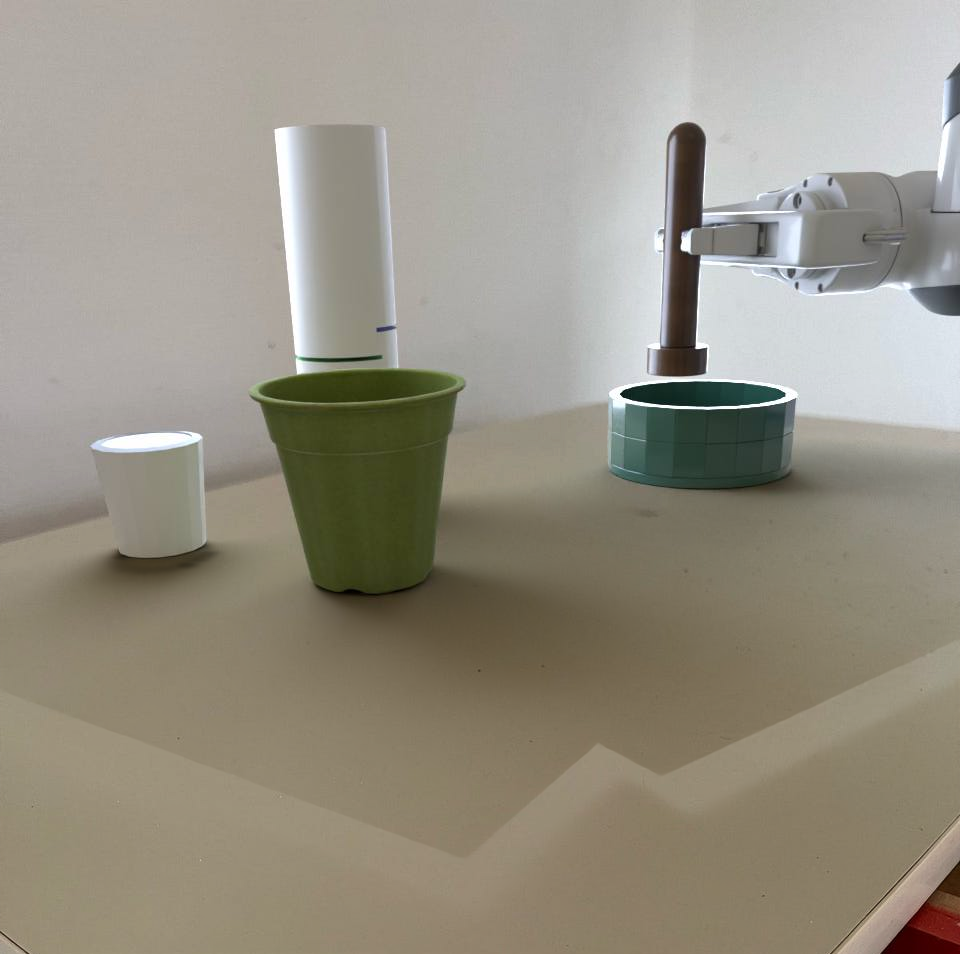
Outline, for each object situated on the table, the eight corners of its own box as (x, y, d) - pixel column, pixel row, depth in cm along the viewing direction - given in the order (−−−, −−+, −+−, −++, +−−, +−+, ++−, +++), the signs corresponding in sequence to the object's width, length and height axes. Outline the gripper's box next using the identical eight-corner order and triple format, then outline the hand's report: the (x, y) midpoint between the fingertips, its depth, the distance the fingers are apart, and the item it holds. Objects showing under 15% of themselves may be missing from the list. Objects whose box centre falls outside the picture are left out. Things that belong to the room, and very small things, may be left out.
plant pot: (227, 590, 59) (201, 391, 55) (359, 537, 68) (346, 363, 64) (388, 627, 53) (374, 407, 49) (510, 564, 62) (507, 373, 58)
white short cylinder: (158, 566, 64) (140, 454, 61) (85, 551, 67) (66, 444, 64) (237, 538, 69) (224, 433, 66) (166, 525, 72) (151, 425, 70)
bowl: (690, 441, 94) (694, 374, 92) (827, 467, 83) (835, 392, 81) (571, 466, 86) (572, 393, 84) (705, 499, 75) (710, 416, 73)
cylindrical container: (425, 499, 77) (407, 128, 68) (366, 522, 72) (337, 122, 62) (350, 488, 81) (324, 135, 71) (289, 510, 75) (251, 130, 66)
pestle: (675, 366, 83) (685, 125, 76) (719, 372, 79) (734, 119, 73) (634, 372, 80) (641, 124, 73) (678, 378, 77) (689, 118, 70)
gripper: (918, 284, 72) (744, 294, 68) (756, 272, 90) (612, 280, 86) (931, 185, 69) (751, 190, 65) (762, 194, 87) (614, 198, 83)
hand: (671, 241), depth 76 cm, fingers closed on pestle, 3 cm apart
